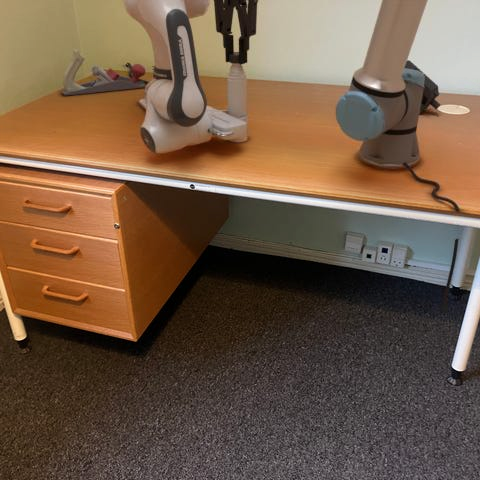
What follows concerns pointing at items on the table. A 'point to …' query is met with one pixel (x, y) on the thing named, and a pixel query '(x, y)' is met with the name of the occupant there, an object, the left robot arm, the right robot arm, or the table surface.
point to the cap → (234, 57)
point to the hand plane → (105, 80)
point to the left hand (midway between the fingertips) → (240, 115)
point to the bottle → (237, 95)
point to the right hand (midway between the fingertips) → (236, 62)
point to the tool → (426, 90)
